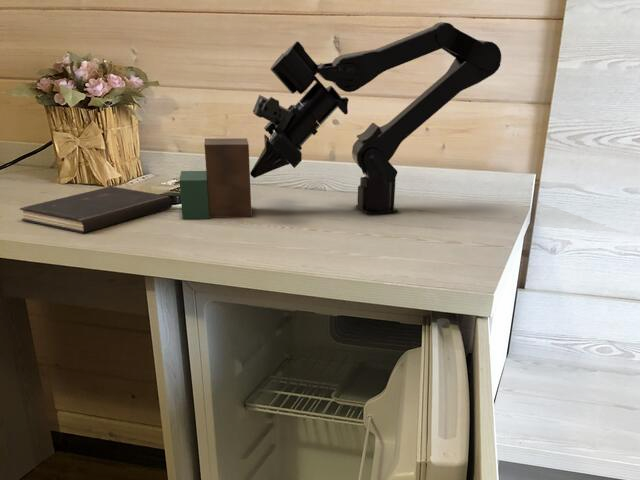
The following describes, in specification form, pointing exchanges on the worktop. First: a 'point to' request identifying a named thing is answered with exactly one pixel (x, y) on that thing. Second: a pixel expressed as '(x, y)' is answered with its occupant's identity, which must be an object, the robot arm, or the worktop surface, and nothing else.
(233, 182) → the walnut block
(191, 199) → the green block
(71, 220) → the hardcover book
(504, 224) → the worktop surface
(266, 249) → the worktop surface
